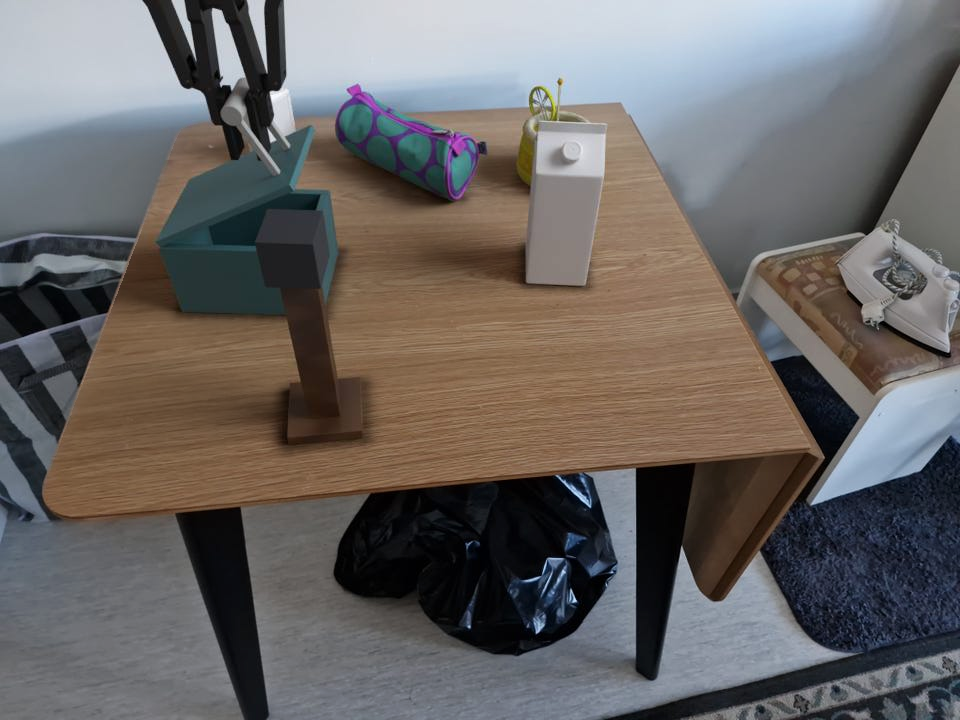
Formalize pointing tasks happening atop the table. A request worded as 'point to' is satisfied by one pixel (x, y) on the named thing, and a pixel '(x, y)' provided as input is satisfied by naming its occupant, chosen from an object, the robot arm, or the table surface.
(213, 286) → the chest
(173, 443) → the table surface
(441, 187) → the pencil case
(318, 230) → the block
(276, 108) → the perfume bottle
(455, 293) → the table surface
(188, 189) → the lid
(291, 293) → the post stand
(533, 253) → the milk carton
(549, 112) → the yellow pot
